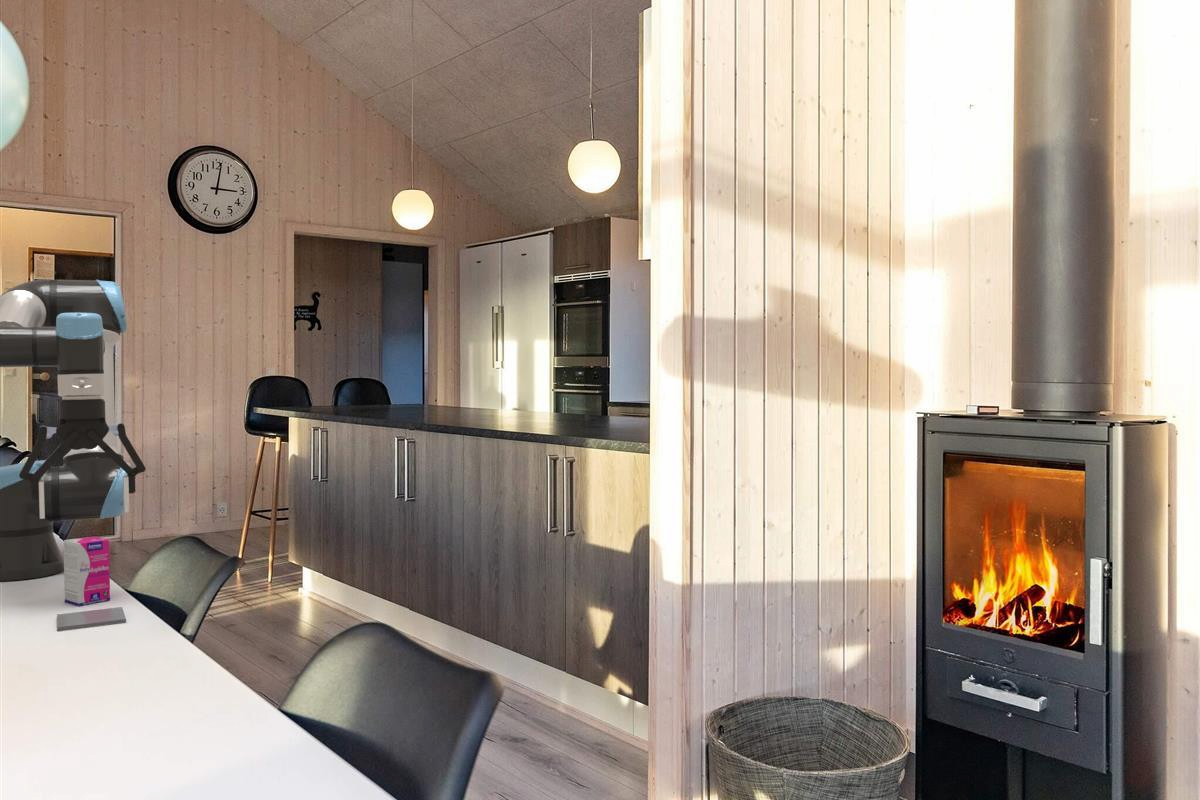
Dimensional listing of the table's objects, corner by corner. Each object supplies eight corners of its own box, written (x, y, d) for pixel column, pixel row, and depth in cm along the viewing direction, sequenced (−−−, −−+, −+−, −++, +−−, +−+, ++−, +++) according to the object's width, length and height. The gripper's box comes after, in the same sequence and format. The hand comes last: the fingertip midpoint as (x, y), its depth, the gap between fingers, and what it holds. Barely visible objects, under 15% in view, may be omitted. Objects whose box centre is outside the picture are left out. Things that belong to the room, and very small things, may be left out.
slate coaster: (57, 617, 167) (56, 614, 167) (122, 610, 172) (122, 606, 172) (57, 631, 158) (57, 627, 158) (126, 622, 163) (125, 618, 163)
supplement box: (79, 607, 175) (77, 543, 174) (63, 602, 178) (61, 540, 178) (111, 600, 179) (109, 538, 179) (96, 596, 183) (94, 535, 183)
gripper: (0, 400, 168) (4, 523, 169) (158, 396, 180) (162, 511, 181) (2, 399, 175) (6, 517, 175) (154, 396, 187) (158, 506, 188)
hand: (85, 514), depth 178 cm, fingers open, 13 cm apart
